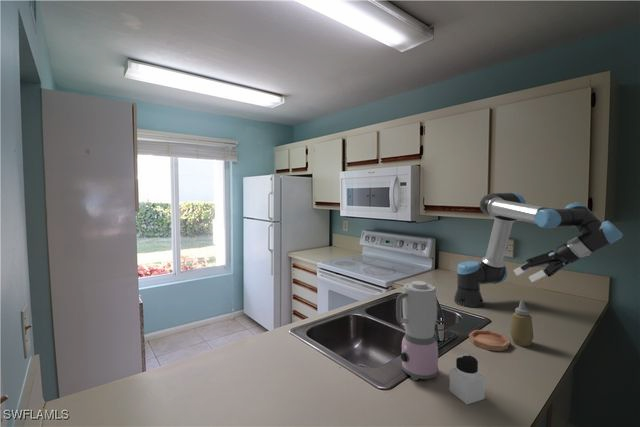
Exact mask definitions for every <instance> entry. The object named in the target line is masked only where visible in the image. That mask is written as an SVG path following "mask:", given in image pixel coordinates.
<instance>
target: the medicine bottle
mask: <svg viewBox="0 0 640 427" xmlns="http://www.w3.org/2000/svg"><path fill="white" fill-rule="evenodd" d="M455 360H456V361H455V368H451V369H449V392H451V393H452V395H454V396H455V397H457V398H458V399H459V400H460V401H462V402H463V403H464V404H465V405H470V404H474V403H476V402H480V401H483V400H485V397H486V392H485V390H486V389H485V388H486V387H485V386H486V384H485V380H486V379H485V376H484V375H482V374H481V373H479V372H478V371H479V362H478V360H477V358H476V357H474V356H472V355H469V354H464V353H463V354H457V356H456V357H455Z"/></svg>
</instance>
